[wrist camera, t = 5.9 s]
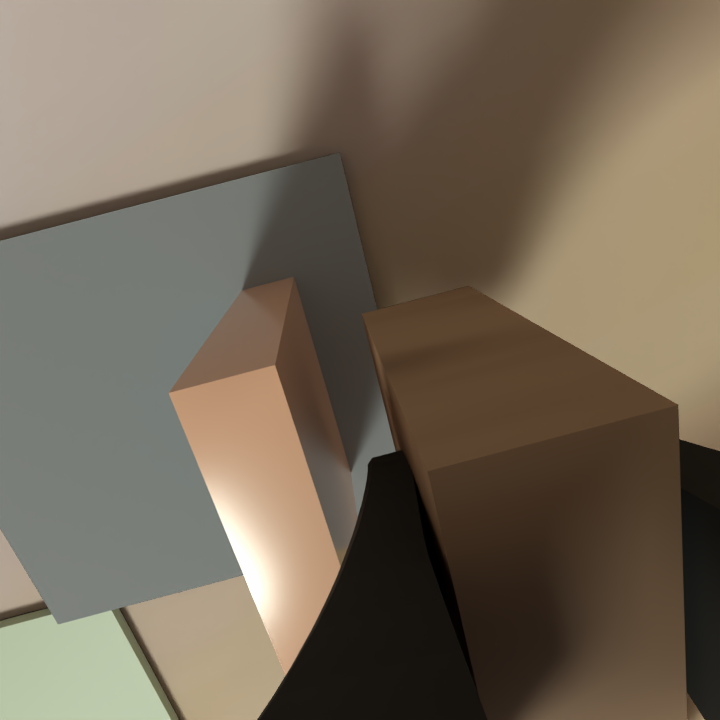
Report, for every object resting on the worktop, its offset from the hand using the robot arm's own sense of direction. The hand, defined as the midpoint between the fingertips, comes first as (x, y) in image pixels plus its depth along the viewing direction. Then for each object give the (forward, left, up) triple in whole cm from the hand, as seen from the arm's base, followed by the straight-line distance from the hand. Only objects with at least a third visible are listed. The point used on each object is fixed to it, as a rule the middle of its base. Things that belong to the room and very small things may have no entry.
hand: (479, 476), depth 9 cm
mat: (0, +8, -7) cm, 11 cm away
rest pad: (-10, +16, -7) cm, 20 cm away
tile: (0, +4, -7) cm, 8 cm away
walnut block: (0, 0, -3) cm, 3 cm away
